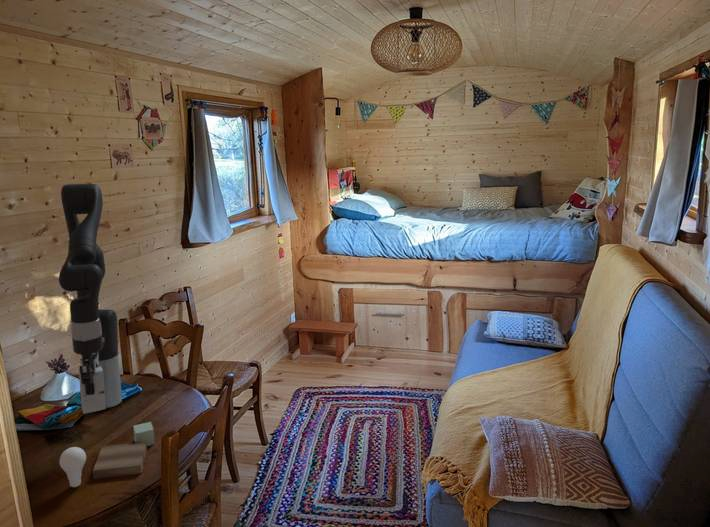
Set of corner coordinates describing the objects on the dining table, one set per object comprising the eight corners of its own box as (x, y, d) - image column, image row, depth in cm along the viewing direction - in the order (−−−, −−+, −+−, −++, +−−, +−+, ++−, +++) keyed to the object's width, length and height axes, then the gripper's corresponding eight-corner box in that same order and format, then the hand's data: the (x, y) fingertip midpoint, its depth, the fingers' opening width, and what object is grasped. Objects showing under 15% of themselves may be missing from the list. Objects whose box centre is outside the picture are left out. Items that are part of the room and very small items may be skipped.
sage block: (134, 440, 162) (133, 425, 161) (151, 436, 165) (150, 421, 164) (136, 448, 158) (135, 433, 157) (154, 444, 161) (153, 429, 159)
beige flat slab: (102, 455, 155) (102, 446, 154) (147, 450, 158) (146, 441, 157) (93, 480, 144) (92, 470, 143) (141, 475, 147) (140, 465, 146)
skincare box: (83, 414, 152) (79, 375, 149) (81, 407, 156) (77, 369, 153) (107, 409, 155) (103, 370, 152) (104, 402, 159) (101, 364, 156)
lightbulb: (68, 479, 143) (64, 442, 141) (92, 478, 144) (88, 442, 141) (58, 494, 137) (53, 455, 135) (83, 493, 138) (79, 455, 135)
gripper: (77, 326, 156) (83, 380, 160) (65, 345, 142) (72, 403, 146) (106, 324, 158) (110, 377, 162) (96, 342, 144) (102, 400, 148)
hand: (92, 389), depth 154 cm, fingers closed on skincare box, 5 cm apart
